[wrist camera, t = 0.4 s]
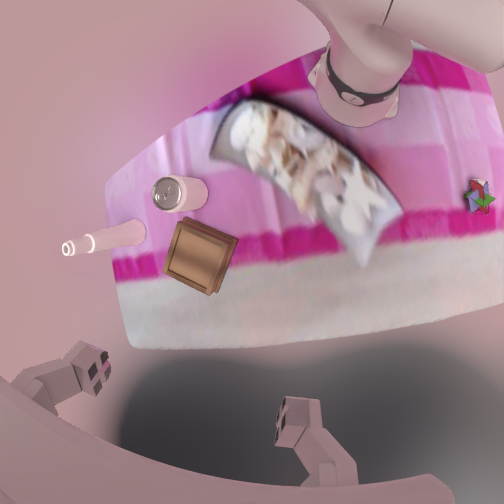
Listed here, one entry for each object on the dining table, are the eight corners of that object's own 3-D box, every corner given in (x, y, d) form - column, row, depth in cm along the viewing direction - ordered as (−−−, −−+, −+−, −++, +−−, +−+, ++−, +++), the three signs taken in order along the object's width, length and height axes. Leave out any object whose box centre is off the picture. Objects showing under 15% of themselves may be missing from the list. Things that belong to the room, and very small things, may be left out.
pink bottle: (150, 230, 58) (81, 248, 37) (138, 250, 60) (69, 274, 39) (133, 213, 58) (62, 223, 37) (121, 233, 60) (52, 250, 39)
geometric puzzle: (494, 212, 40) (503, 192, 34) (475, 227, 42) (484, 208, 36) (475, 188, 44) (481, 166, 38) (456, 201, 46) (461, 180, 39)
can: (175, 188, 55) (144, 187, 44) (200, 172, 54) (173, 166, 42) (188, 215, 56) (159, 220, 44) (214, 200, 54) (189, 201, 43)
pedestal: (186, 216, 56) (176, 218, 51) (238, 239, 55) (232, 243, 50) (169, 267, 59) (159, 273, 54) (218, 291, 58) (210, 299, 53)
